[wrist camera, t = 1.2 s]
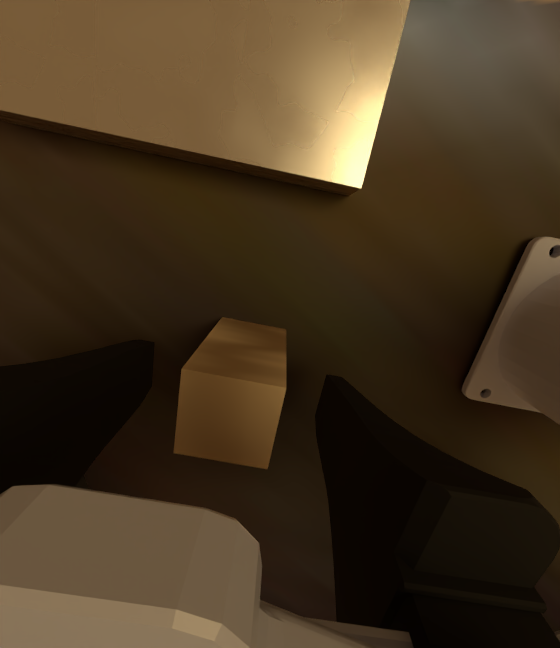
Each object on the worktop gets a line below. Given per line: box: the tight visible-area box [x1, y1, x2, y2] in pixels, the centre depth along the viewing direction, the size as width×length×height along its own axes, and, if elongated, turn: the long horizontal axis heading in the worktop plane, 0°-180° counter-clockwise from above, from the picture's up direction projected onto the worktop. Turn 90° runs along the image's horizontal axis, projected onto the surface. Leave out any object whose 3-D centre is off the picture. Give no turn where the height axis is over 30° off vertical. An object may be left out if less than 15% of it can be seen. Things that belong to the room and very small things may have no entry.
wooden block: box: [174, 317, 286, 469], centre depth 11 cm, size 3×3×6 cm
